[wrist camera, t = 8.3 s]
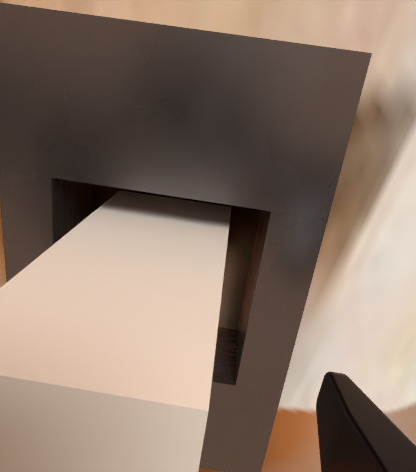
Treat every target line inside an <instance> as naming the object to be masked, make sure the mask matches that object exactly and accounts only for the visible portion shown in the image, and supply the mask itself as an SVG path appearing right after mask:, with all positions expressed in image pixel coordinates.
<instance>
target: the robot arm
mask: <svg viewBox="0 0 416 472" xmlns="http://www.w3.org/2000/svg"><path fill="white" fill-rule="evenodd" d="M316 412H317V424H318V435H319V448H320V460H321V471H322V472H416V446H415V445H414V444H413V443H412V442H411V441H410V440H409V439H408V438H407V437H406V436H405V435H404V434H403V433H402V432H401V431H400V430H399V428H397V426H396V425H395V424H394V423H392V421H391V420H390V419H389V418H388V417H387V416H386V415H385V414H384V413H383V412H382V411H381V410H380V409H379V408H378V407H377V406H376V405H375V404H374V403H373V402H372V401H371V400H370V399H369V398H368V397H367V396H366V395H365V394H364V393H363V391H362V390H361V389H360V388H359V387H358V386H357V385H356V384H355V383H354V382H353V381H352V380H351V379H350V378H349V377H348V376H347V375H345V374H341V373H335V372H327V373H326V374H325V376H324V379H323V382H322V385H321V389H320V392H319V395H318V398H317V404H316Z"/></svg>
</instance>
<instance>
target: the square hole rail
mask: <svg viewBox="0 0 416 472" xmlns="http://www.w3.org/2000/svg"><path fill="white" fill-rule="evenodd" d="M371 54H372V53H365V52H358V51H351V50H343V49H336V48H329V47H321V46H314V45H307V44H299V43H292V42H285V41H277V40H270V39H263V38H255V37H248V36H241V35H233V34H226V33H219V32H211V31H204V30H197V29H189V28H182V27H175V26H167V25H160V24H153V23H145V22H138V21H131V20H123V19H116V18H109V17H101V16H94V15H87V14H79V13H72V12H65V11H57V10H50V9H43V8H35V7H28V6H21V5H13V4H6V3H0V203H1V216H2V228H3V241H4V254H5V266H6V279H7V282H8V281H9V280H11V279H12V278H13V277H14V276H16V275H17V274H18V273H19V272H20V271H22V270H23V269H24V268H25V267H27V266H28V265H29V264H30V263H31V262H33V261H34V260H35V259H36V258H38V257H39V256H40V255H41V254H42V253H44V252H45V251H46V250H47V249H49V248H50V247H51V246H52V245H54V244H55V243H56V242H57V241H58V240H60V239H61V238H62V237H63V236H65V235H66V234H67V233H68V232H69V231H71V230H72V229H73V228H74V227H76V226H77V225H78V224H79V223H80V222H82V221H83V220H84V219H85V218H87V217H88V216H89V215H90V214H91V213H92V184H96V185H102V186H109V187H115V188H122V189H129V190H135V191H142V192H148V193H155V194H161V195H168V196H174V197H181V198H187V199H194V200H200V201H207V202H213V203H220V204H226V205H233V206H240V207H246V208H253V209H259V210H260V215H259V221H258V226H257V231H256V236H255V241H254V247H253V252H252V257H251V262H250V267H249V273H248V278H247V283H246V288H245V293H244V299H243V304H242V309H241V314H240V319H239V324H238V330H237V331H236V330H230V329H224V328H218V331H217V340H216V349H215V358H214V367H213V376H212V384H211V393H210V402H209V411H208V417H207V423H206V429H205V434H204V440H203V446H202V452H201V458H200V464H199V467H202V468H208V469H213V470H219V471H224V472H261V468H262V465H263V461H264V458H265V453H266V450H267V446H268V442H269V438H270V435H271V431H272V427H273V423H274V420H275V416H276V412H277V409H278V405H279V401H280V397H281V394H282V390H283V386H284V382H285V378H286V375H287V371H288V367H289V363H290V360H291V356H292V352H293V348H294V345H295V341H296V337H297V333H298V329H299V326H300V322H301V318H302V314H303V311H304V307H305V303H306V299H307V296H308V292H309V288H310V284H311V280H312V277H313V273H314V269H315V265H316V262H317V258H318V254H319V250H320V247H321V243H322V239H323V235H324V232H325V228H326V224H327V220H328V216H329V213H330V209H331V205H332V201H333V198H334V194H335V190H336V186H337V183H338V179H339V175H340V171H341V167H342V164H343V160H344V156H345V152H346V149H347V145H348V141H349V137H350V134H351V130H352V126H353V122H354V119H355V115H356V111H357V107H358V103H359V100H360V96H361V92H362V88H363V85H364V81H365V77H366V73H367V70H368V66H369V62H370V58H371Z"/></svg>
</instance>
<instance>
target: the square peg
mask: <svg viewBox="0 0 416 472" xmlns="http://www.w3.org/2000/svg"><path fill="white" fill-rule="evenodd" d="M230 216H231V207H228V206H221V205H215V204H208V203H201V202H195V201H188V200H181V199H175V198H168V197H161V196H155V195H148V194H141V193H135V192H128V191H121V190H120V191H118V192H117V193H116V194H115V195H113V196H112V197H111V198H110V199H109V200H107V201H106V202H105V203H104V204H102V205H101V206H100V207H99V208H98V209H96V210H95V211H94V212H93V213H91V214H90V215H89V216H88V217H87V218H85V219H84V220H83V221H82V222H80V223H79V224H78V225H77V226H76V227H74V228H73V229H72V230H71V231H69V232H68V233H67V234H66V235H65V236H63V237H62V238H61V239H60V240H58V241H57V242H56V243H55V244H54V245H52V246H51V247H50V248H49V249H47V250H46V251H45V252H44V253H42V254H41V255H40V256H39V257H38V258H36V259H35V260H34V261H33V262H31V263H30V264H29V265H28V266H27V267H25V268H24V269H23V270H22V271H20V272H19V273H18V274H17V275H16V276H14V277H13V278H12V279H11V280H9V281H8V282H7V283H6V284H5V285H3V286H2V287H1V288H0V472H198V470H199V464H200V458H201V452H202V446H203V440H204V434H205V429H206V423H207V417H208V411H209V402H210V393H211V384H212V376H213V367H214V358H215V349H216V340H217V331H218V322H219V314H220V305H221V296H222V287H223V278H224V269H225V260H226V251H227V243H228V234H229V225H230Z"/></svg>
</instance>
